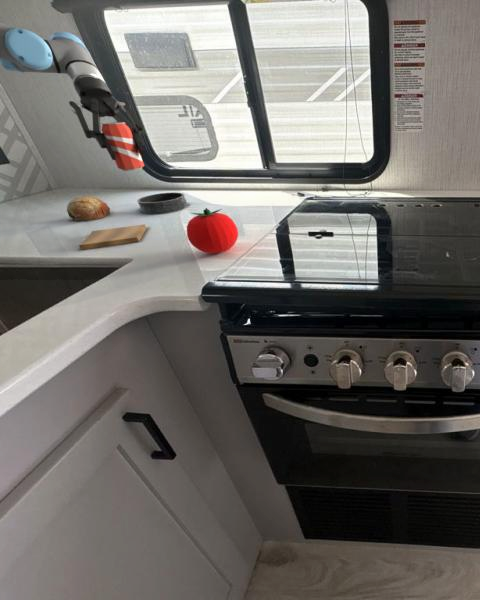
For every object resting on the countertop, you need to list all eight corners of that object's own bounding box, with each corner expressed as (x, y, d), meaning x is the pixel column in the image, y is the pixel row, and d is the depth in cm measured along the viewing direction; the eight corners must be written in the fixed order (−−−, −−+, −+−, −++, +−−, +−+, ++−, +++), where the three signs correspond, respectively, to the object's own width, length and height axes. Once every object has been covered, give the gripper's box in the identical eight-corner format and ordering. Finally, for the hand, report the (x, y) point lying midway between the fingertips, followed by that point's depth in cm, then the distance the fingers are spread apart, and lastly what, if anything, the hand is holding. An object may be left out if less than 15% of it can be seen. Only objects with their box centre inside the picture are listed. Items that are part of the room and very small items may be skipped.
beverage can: (150, 168, 97) (132, 122, 91) (127, 172, 92) (106, 123, 86) (137, 166, 99) (119, 121, 93) (114, 170, 94) (93, 123, 88)
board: (81, 249, 81) (78, 245, 80) (94, 235, 89) (92, 231, 89) (139, 241, 85) (137, 237, 84) (146, 228, 93) (145, 224, 93)
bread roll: (75, 229, 104) (50, 209, 98) (99, 207, 109) (76, 187, 103) (98, 232, 102) (73, 212, 95) (121, 209, 107) (99, 189, 100)
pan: (138, 216, 103) (133, 205, 101) (146, 205, 114) (141, 195, 112) (185, 210, 108) (182, 199, 106) (189, 200, 118) (185, 190, 116)
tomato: (190, 250, 79) (174, 209, 74) (235, 240, 85) (223, 200, 80) (200, 264, 72) (184, 220, 67) (248, 252, 78) (237, 210, 73)
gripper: (133, 97, 102) (168, 160, 100) (50, 98, 90) (88, 168, 89) (129, 76, 96) (166, 142, 94) (39, 73, 84) (80, 149, 83)
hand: (128, 155), depth 91 cm, fingers closed on beverage can, 6 cm apart
